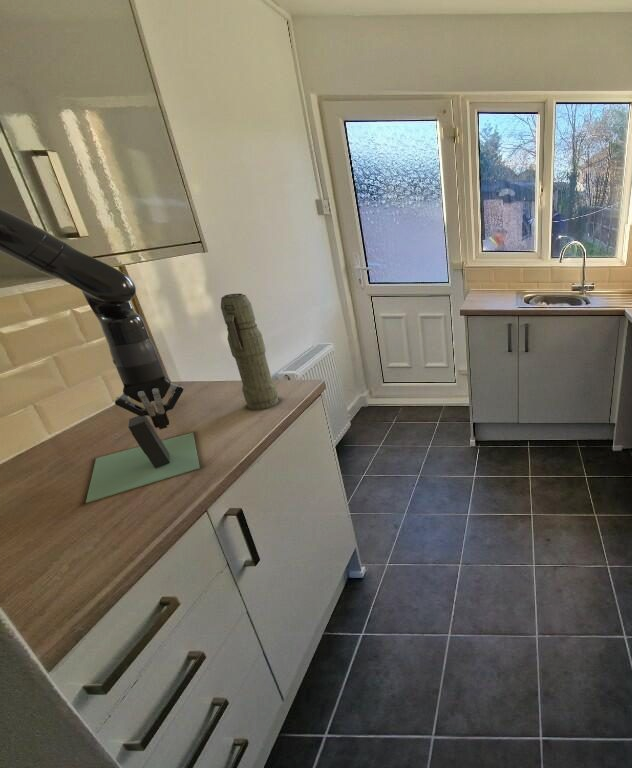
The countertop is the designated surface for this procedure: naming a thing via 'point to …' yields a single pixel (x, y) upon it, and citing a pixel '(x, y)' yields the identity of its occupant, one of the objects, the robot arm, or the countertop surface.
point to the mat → (140, 468)
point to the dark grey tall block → (149, 441)
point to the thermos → (248, 352)
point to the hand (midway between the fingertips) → (163, 427)
